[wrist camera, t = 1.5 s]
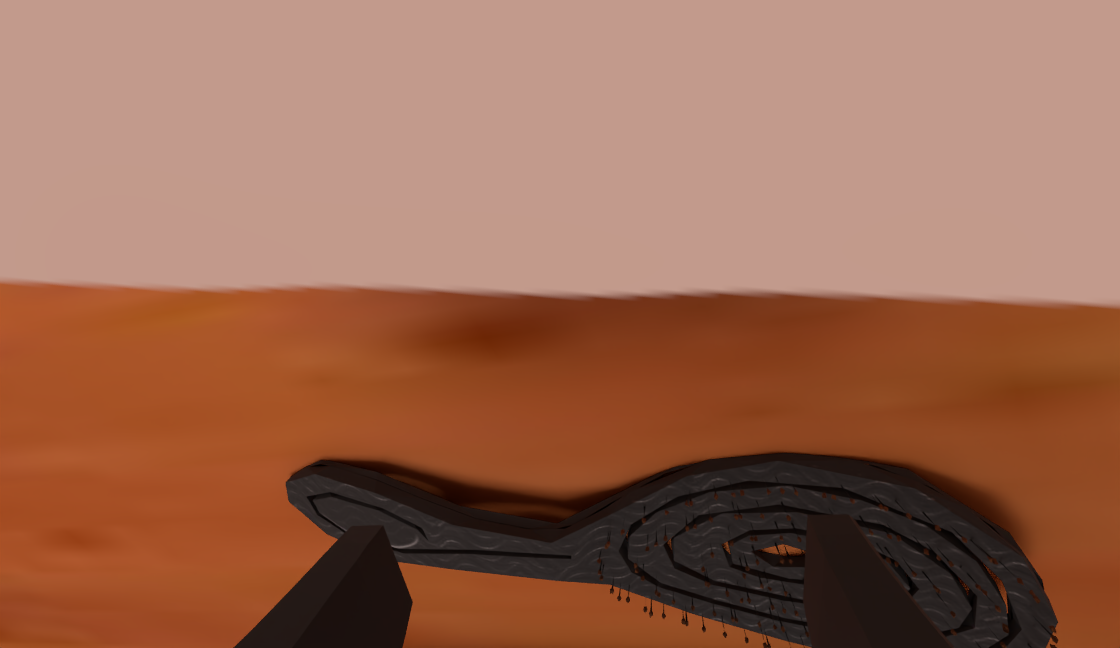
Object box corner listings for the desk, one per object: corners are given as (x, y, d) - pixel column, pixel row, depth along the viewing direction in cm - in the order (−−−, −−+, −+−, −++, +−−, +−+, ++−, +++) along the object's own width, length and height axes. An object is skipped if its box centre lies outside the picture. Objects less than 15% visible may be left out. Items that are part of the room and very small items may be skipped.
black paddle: (227, 438, 19) (1134, 580, 16) (292, 372, 23) (1061, 479, 19) (276, 613, 23) (1008, 757, 20) (325, 537, 27) (965, 650, 23)
